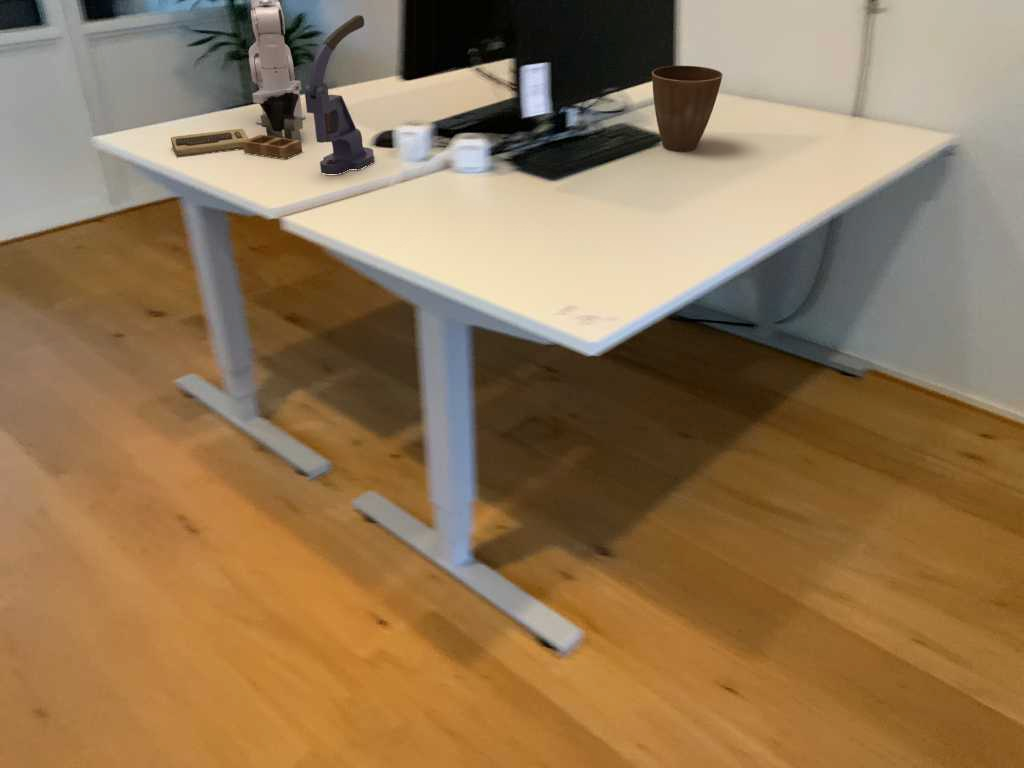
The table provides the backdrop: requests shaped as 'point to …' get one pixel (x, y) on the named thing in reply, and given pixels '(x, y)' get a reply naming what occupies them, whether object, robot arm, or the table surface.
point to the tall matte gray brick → (284, 127)
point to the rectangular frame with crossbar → (272, 146)
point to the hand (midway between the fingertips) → (282, 129)
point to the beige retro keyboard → (208, 142)
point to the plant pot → (684, 103)
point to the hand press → (335, 111)
